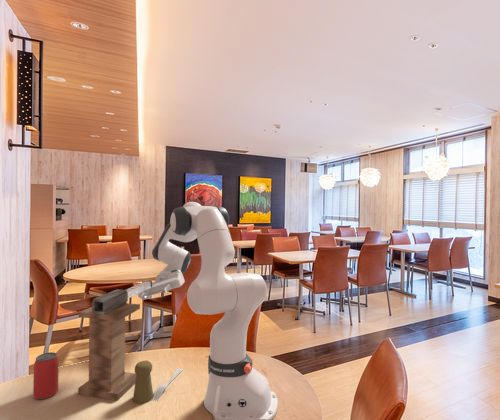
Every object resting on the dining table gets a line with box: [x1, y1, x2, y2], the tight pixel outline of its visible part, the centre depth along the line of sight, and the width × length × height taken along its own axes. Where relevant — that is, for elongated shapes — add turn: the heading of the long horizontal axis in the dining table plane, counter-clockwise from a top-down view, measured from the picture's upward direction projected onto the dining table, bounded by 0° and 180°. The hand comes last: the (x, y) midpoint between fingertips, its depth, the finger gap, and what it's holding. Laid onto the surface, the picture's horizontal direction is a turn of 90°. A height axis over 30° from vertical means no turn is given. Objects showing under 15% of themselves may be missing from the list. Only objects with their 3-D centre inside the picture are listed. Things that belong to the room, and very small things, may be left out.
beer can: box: [32, 351, 59, 400], centre depth 99 cm, size 7×7×12 cm
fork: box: [151, 367, 184, 402], centre depth 106 cm, size 3×21×3 cm, turn 169°
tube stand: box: [77, 289, 141, 401], centre depth 103 cm, size 14×12×31 cm
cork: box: [132, 360, 154, 405], centre depth 97 cm, size 6×6×11 cm
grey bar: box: [125, 280, 153, 299], centre depth 116 cm, size 2×22×2 cm, turn 168°
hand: (153, 294), depth 129 cm, fingers open, 8 cm apart
